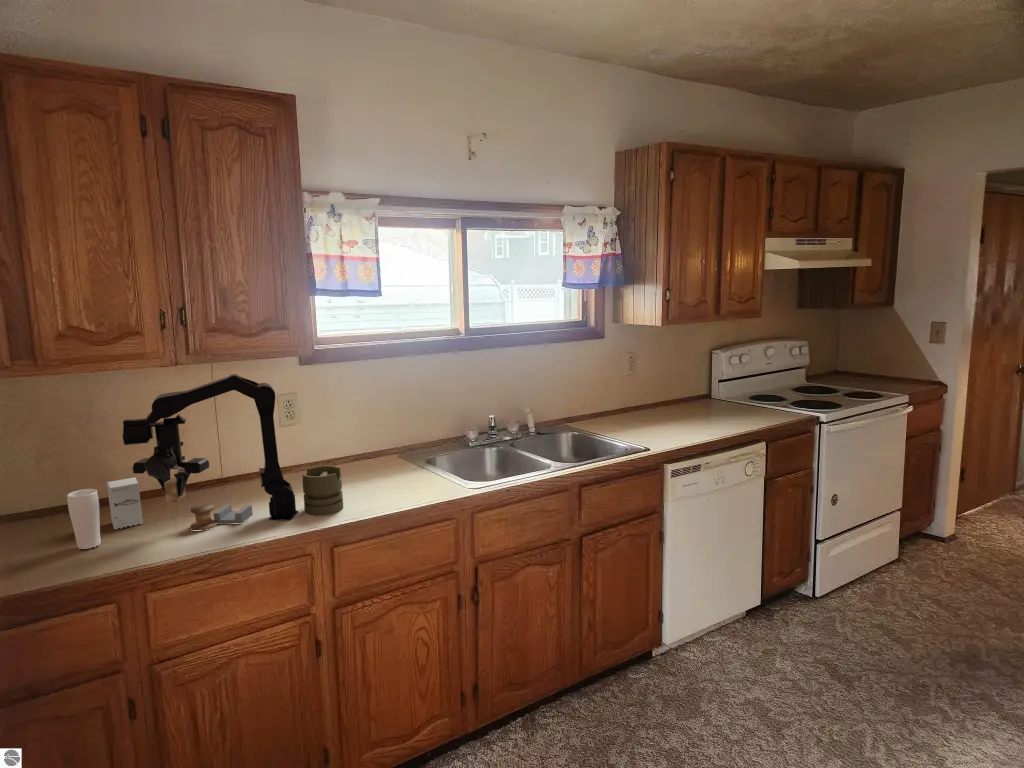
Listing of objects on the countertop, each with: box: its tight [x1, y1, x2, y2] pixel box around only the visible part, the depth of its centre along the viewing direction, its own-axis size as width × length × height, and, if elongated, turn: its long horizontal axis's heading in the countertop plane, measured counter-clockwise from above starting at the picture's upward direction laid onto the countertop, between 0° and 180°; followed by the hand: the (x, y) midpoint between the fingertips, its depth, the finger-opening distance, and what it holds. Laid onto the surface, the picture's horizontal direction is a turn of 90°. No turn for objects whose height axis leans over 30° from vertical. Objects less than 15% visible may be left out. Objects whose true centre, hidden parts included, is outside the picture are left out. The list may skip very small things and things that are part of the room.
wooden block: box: [164, 477, 187, 503], centre depth 181 cm, size 3×4×6 cm, turn 177°
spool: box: [189, 502, 219, 531], centre depth 186 cm, size 7×7×6 cm
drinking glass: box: [66, 488, 102, 550], centre depth 173 cm, size 7×7×15 cm
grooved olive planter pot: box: [302, 465, 344, 517], centre depth 198 cm, size 11×12×11 cm
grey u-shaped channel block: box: [213, 504, 254, 524], centre depth 192 cm, size 8×7×3 cm
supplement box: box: [106, 477, 144, 530], centre depth 189 cm, size 7×7×13 cm
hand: (174, 495), depth 181 cm, fingers closed on wooden block, 3 cm apart
